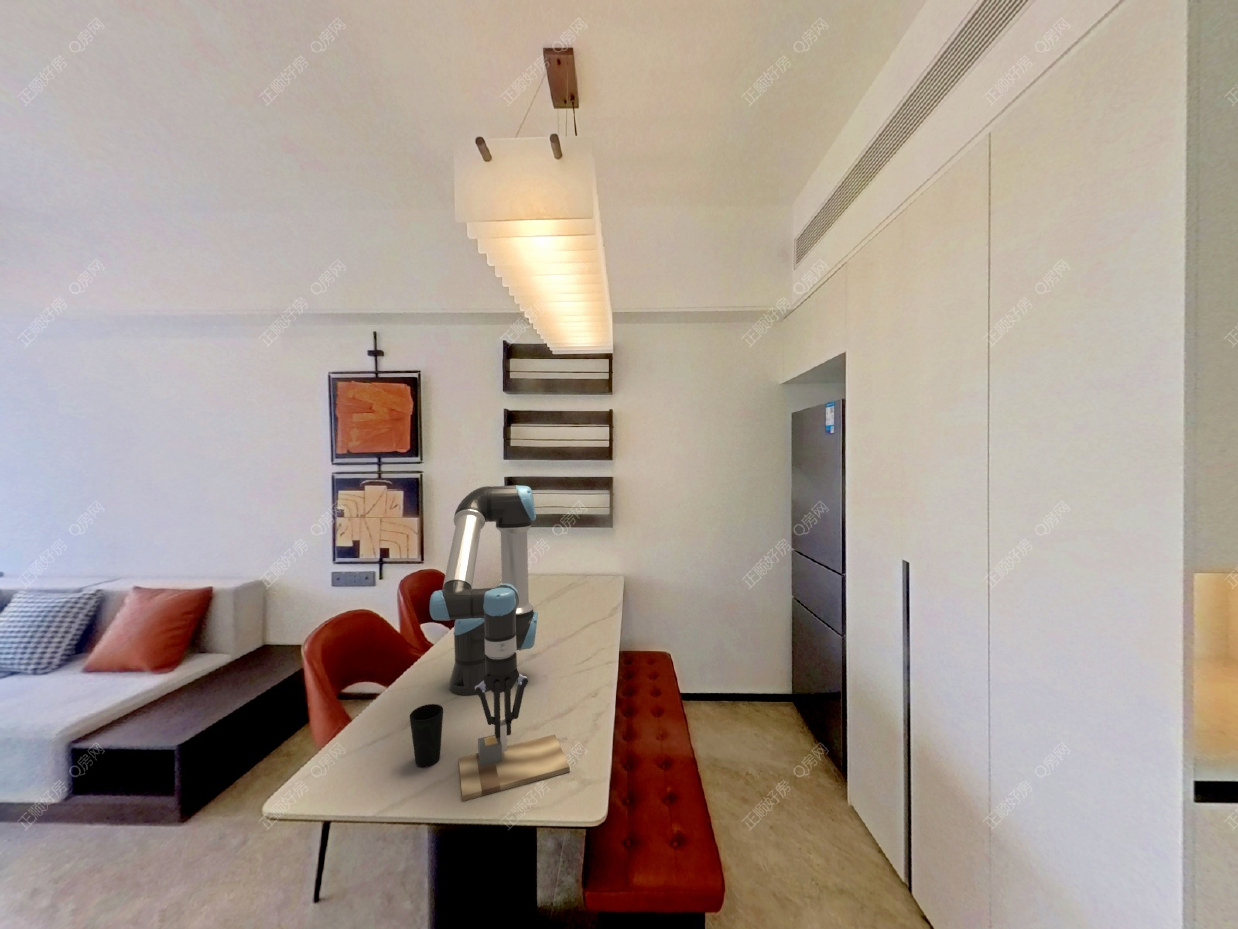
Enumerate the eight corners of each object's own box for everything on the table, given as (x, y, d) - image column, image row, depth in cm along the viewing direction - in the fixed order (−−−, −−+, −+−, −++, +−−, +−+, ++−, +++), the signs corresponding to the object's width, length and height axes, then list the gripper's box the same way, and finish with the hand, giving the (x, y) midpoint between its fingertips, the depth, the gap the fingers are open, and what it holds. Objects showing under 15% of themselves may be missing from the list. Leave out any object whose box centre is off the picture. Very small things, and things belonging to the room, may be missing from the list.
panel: (458, 762, 115) (458, 757, 115) (555, 739, 124) (554, 734, 124) (462, 801, 102) (462, 795, 102) (569, 771, 111) (569, 766, 111)
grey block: (478, 754, 116) (477, 737, 116) (499, 749, 118) (498, 732, 118) (480, 767, 111) (479, 749, 111) (502, 761, 113) (501, 743, 113)
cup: (448, 750, 120) (447, 703, 120) (438, 770, 112) (437, 720, 112) (418, 751, 120) (416, 704, 120) (405, 771, 112) (404, 721, 112)
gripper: (474, 664, 110) (477, 764, 110) (530, 654, 114) (532, 750, 115) (471, 652, 117) (474, 746, 117) (524, 643, 121) (526, 734, 122)
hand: (503, 748), depth 116 cm, fingers closed
